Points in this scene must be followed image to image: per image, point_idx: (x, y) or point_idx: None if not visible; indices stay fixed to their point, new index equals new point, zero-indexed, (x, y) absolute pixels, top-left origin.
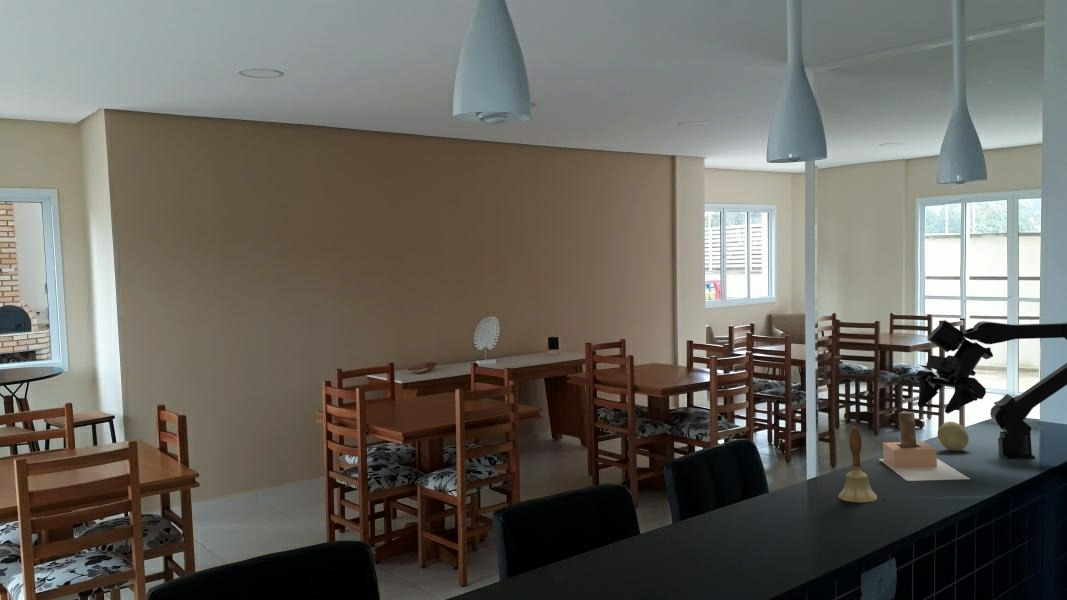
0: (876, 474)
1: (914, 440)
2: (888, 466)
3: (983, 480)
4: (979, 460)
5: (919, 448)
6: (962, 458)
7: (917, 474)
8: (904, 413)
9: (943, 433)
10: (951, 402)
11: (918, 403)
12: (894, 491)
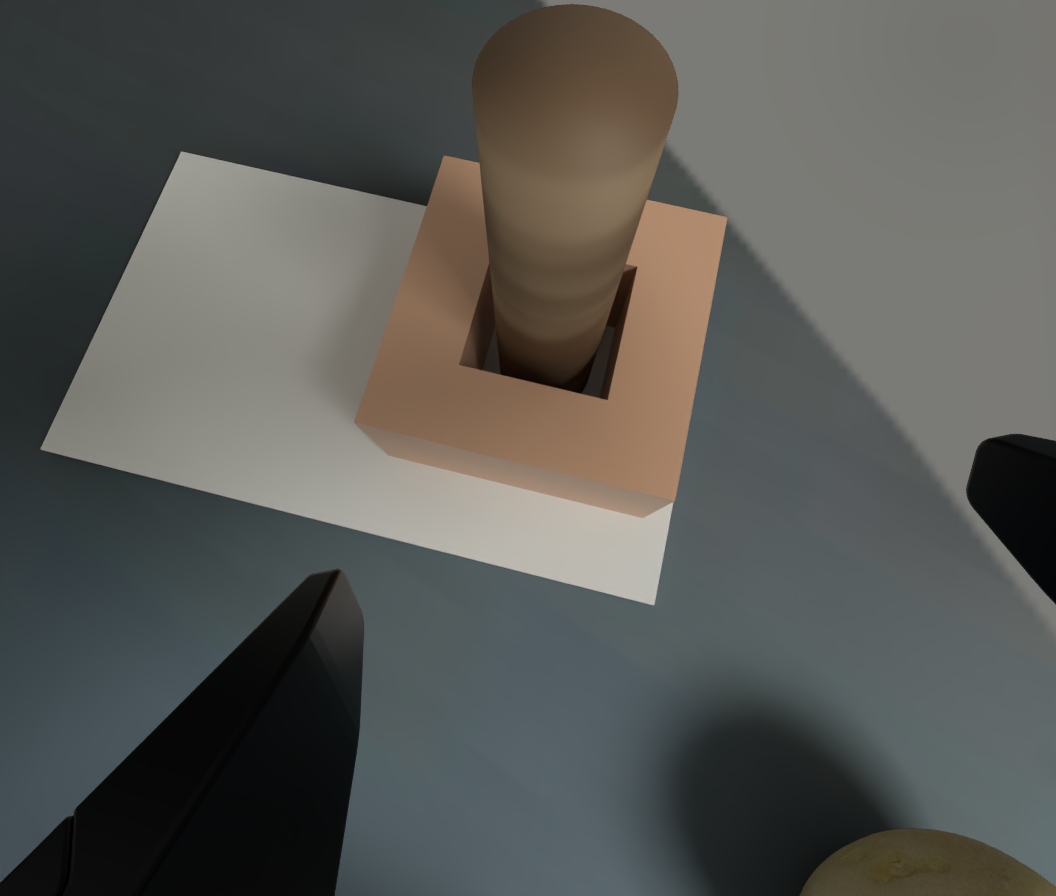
0: (413, 123)
1: (498, 311)
2: None
3: (24, 528)
4: (501, 877)
5: (425, 328)
6: (605, 800)
7: (270, 259)
8: (544, 44)
9: (935, 875)
10: (163, 736)
11: (1048, 446)
12: (84, 44)
